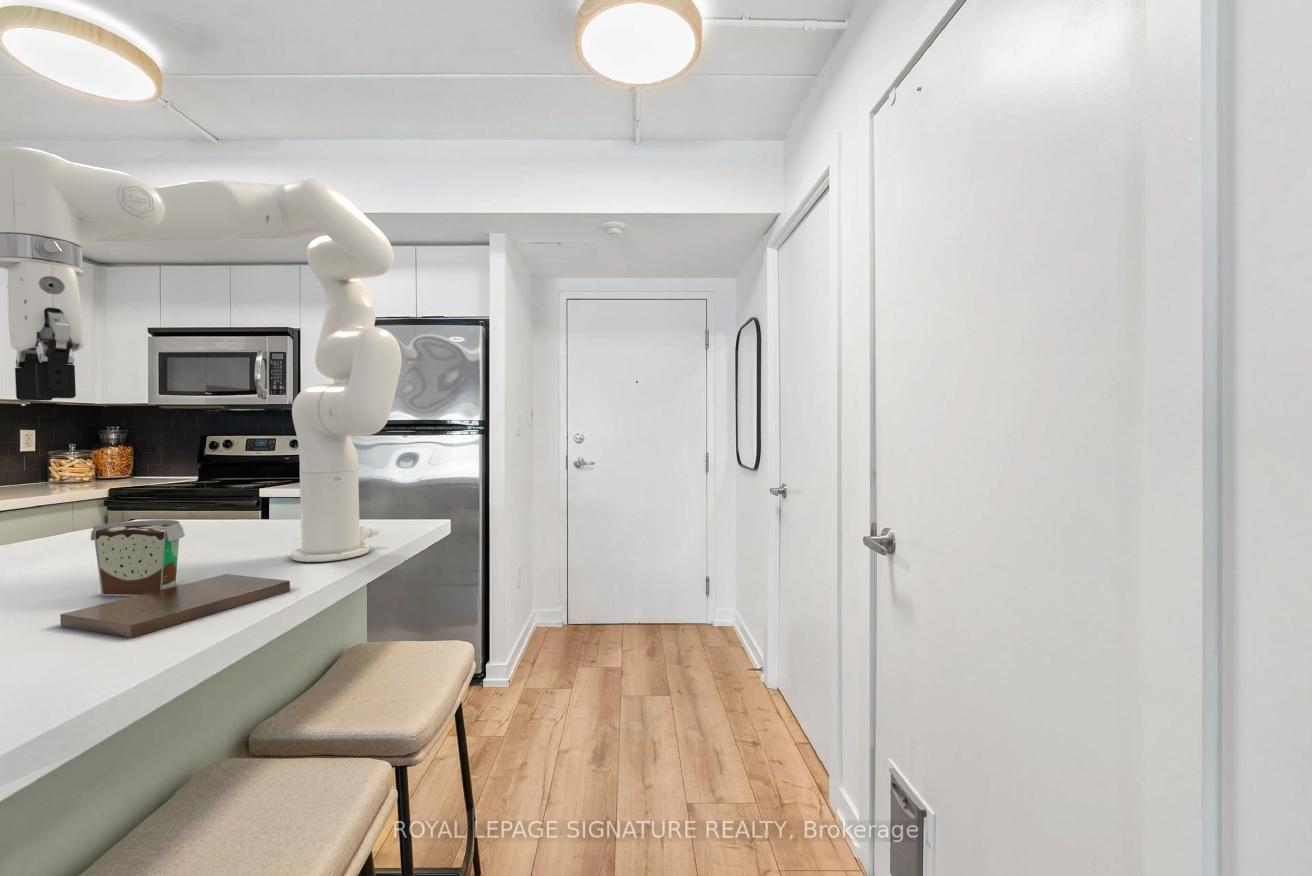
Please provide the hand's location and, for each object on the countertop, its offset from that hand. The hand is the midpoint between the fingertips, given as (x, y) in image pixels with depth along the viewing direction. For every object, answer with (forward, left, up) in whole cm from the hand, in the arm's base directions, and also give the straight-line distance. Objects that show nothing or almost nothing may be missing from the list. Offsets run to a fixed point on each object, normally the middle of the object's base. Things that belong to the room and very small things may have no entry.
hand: (45, 399), depth 73 cm
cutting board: (-9, +9, -28) cm, 31 cm away
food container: (-13, -4, -28) cm, 31 cm away
